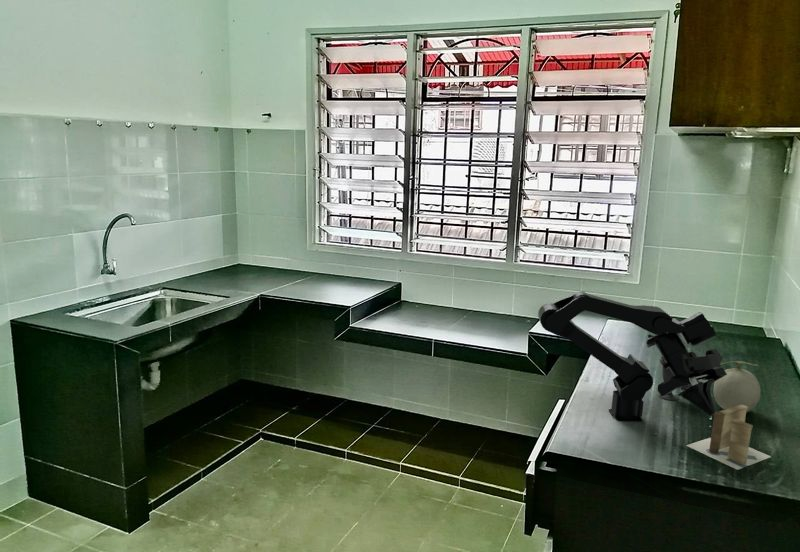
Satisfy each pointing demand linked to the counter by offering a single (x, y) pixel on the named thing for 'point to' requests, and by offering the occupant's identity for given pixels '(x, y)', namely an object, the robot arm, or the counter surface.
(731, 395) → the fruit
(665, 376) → the sundae
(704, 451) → the card
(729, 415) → the fence panel
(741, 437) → the wooden plank
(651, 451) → the counter surface
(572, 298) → the robot arm
